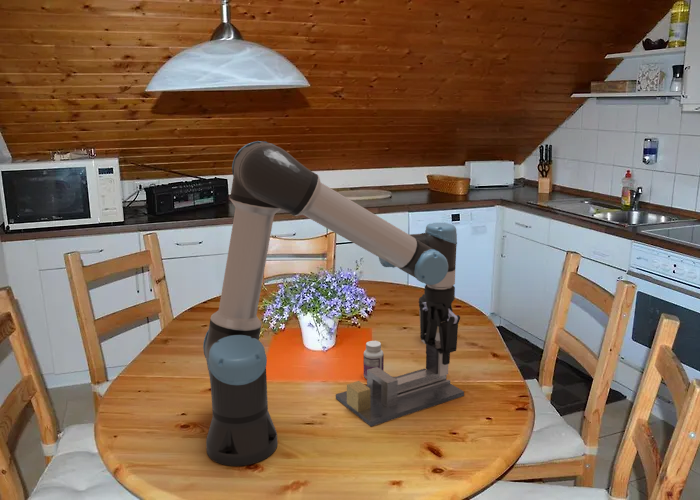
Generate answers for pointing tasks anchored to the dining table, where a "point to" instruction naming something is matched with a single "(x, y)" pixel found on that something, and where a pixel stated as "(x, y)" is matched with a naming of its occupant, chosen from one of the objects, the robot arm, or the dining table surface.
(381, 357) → the pill bottle
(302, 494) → the dining table surface
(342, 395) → the slotted base plate
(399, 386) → the sliding bolt with handle
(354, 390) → the block
